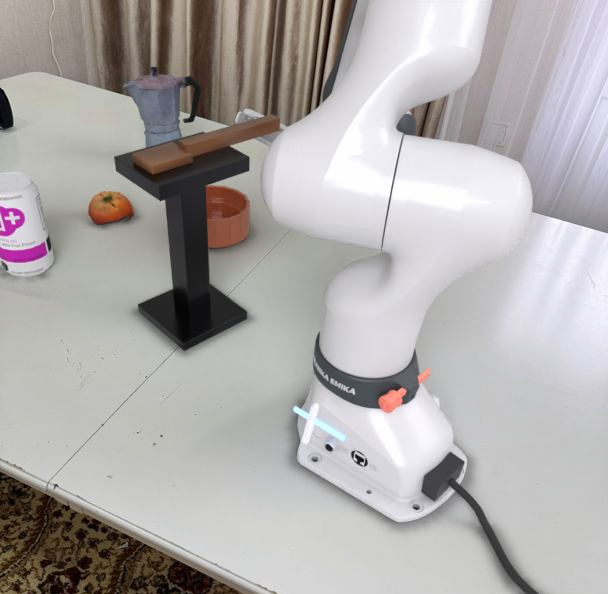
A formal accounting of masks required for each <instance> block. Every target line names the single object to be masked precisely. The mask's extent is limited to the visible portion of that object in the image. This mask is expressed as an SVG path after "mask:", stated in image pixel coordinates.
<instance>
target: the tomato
mask: <svg viewBox="0 0 608 594" xmlns="http://www.w3.org/2000/svg"><path fill="white" fill-rule="evenodd" d="M87 212H88V216H89V217H90V219H91V221H92V222H93V223H94V224H95V225H97V226H98V225H103V224H106V223H109V222H115V223H116V222H118V221H119V220H120V219H123V218H124V217H128V219H127V221H129V220H131V219H132V217H133V216H135V215H134V209H133V205H132V203H131V201H130V200H129V198H127V196H125V194H122V193H121V192H119V191H114V190H113V191H112V190H108V191H106V190H103V191H100V192H98V193H97V194H95V195H94V196H93V197H92V198H91V199H90V202H89V204H88V211H87Z"/></svg>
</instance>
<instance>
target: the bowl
mask: <svg viewBox="0 0 608 594" xmlns="http://www.w3.org/2000/svg"><path fill="white" fill-rule="evenodd" d="M206 203H207V227H208V249H209V248H212V249H213V248H214V249H218V248H226V247H231V246H234V245H236V244H238V243H241V242H243V241H244V240H245V239H246V238H247V237H248V236H249V234H250V229H251V201H250V199H249V197H248V196H247V194H245V193H243V192H242V191H240V190H238V189H236V188H233V187H230V186H225V185H214V184H210V185H207V186H206Z"/></svg>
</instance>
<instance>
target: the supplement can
mask: <svg viewBox="0 0 608 594" xmlns="http://www.w3.org/2000/svg"><path fill="white" fill-rule="evenodd" d="M54 262H55V255H54V251H53V246H52V242H51V238H50V233H49V229H48V224H47V220H46V217H45V211H44V207H43V202H42V198H41V194H40V191H39V186H38V185H37V184H36V183H35V182H34V181H33V180H32V177H31V176H30V175H29V174H26V173H24V172H20V171H19V172H18V171H3V172H0V266H1V268H2V269H3V270H4V272H6V273H8V274H9V275H12V276H14V277H19V278H30V277H33V276H35V277H36V276H38V275H41V274H43V273H45V272H46V271H47V270H49V269H50V268H51V266H52V265H53V264H54Z"/></svg>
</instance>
